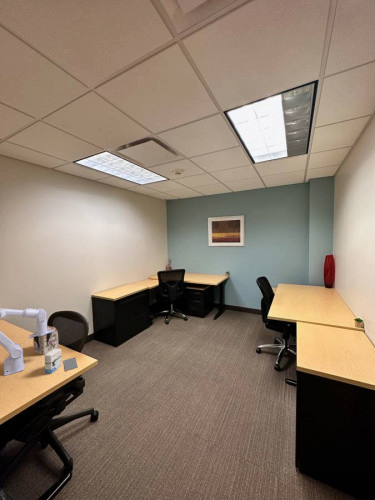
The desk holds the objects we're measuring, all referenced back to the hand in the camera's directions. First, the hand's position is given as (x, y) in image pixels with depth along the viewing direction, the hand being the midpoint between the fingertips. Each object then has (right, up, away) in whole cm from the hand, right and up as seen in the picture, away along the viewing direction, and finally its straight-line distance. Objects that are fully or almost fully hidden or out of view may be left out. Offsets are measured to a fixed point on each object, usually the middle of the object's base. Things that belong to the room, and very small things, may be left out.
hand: (43, 345), depth 141 cm
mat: (+22, -10, -5) cm, 25 cm away
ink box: (+14, -11, -10) cm, 21 cm away
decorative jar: (-7, -10, +14) cm, 18 cm away
